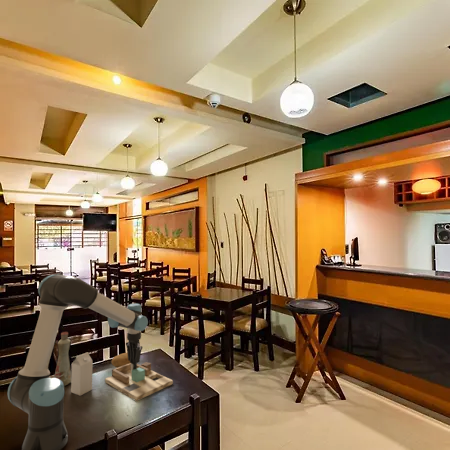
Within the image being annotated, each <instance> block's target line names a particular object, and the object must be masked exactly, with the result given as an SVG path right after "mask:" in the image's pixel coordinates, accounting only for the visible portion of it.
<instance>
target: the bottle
mask: <svg viewBox="0 0 450 450" xmlns="http://www.w3.org/2000/svg"><path fill="white" fill-rule="evenodd" d="M60 337H61V339H60V340H59V341H58V342H57V346H58V347H57V348H58V357H57V360H56V361H57V362H56V368H55V372H54V376H53V378H57V379H60V380H61V381H62V382H63V384H64V387H65V386H67V385H69V384H71V377H72V369H71V365H70V356H69V350H70V346H71V340H70V339H69V338H68V337H69V332H68V331H62V332H61V333H60Z"/></svg>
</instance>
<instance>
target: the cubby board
mask: <svg viewBox="0 0 450 450" xmlns="http://www.w3.org/2000/svg"><path fill="white" fill-rule="evenodd" d="M139 367H140V368H142V369H144V370H145V379H144V380H141V381H139V382H135V381H133V380H132V375H131V363H130V364H127V365H124V366H121V367H118V368H116V367H115V368H113V369H111V375H110V376H108V377H106V378H105V380H104V382H105V383H106V384H107V385H108V386H111V387H113V388H114V389H115V390H117V391H119V392H120V393H122V394H124V395H126V396H127V397H128V398H131V399H132V400H134V401H135V402H138V401H140V400H142V399H143V398H146V397H148V396H151V395H152V394H155V393H156V392H159V391H160V390H163V389H165V388H167V387H170V386H171V385H173V383H174V381H173V379H171V378H169V377H166V376H164V375H162V374H160V373H159V372H156V371H154V370H152V369H151V370H150V371H149V369H148V368H145V367H143V366H141V364H139V363H137V368H139ZM156 378H157V379H156ZM154 379H155V380H154Z"/></svg>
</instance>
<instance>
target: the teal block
mask: <svg viewBox="0 0 450 450" xmlns="http://www.w3.org/2000/svg"><path fill="white" fill-rule="evenodd" d="M144 379H145V370H144V369H142V368H140V367H139V368H137V369H134V370H132V380H133V381H135V382H139V381H141V380H144Z"/></svg>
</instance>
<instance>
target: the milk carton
mask: <svg viewBox="0 0 450 450" xmlns="http://www.w3.org/2000/svg"><path fill="white" fill-rule="evenodd" d="M75 357H76V358H75V359H74V360H73V362H71V382H70V386H71V387H70V388H71V389H70V392H71V393H72V394H74V395H78V396H82V395H84V394H86V393H88V392H90V391H92V390H93V359H92V357H91V356H90V354H89V352H85V353H82V354H79V355H77V356H75Z"/></svg>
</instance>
